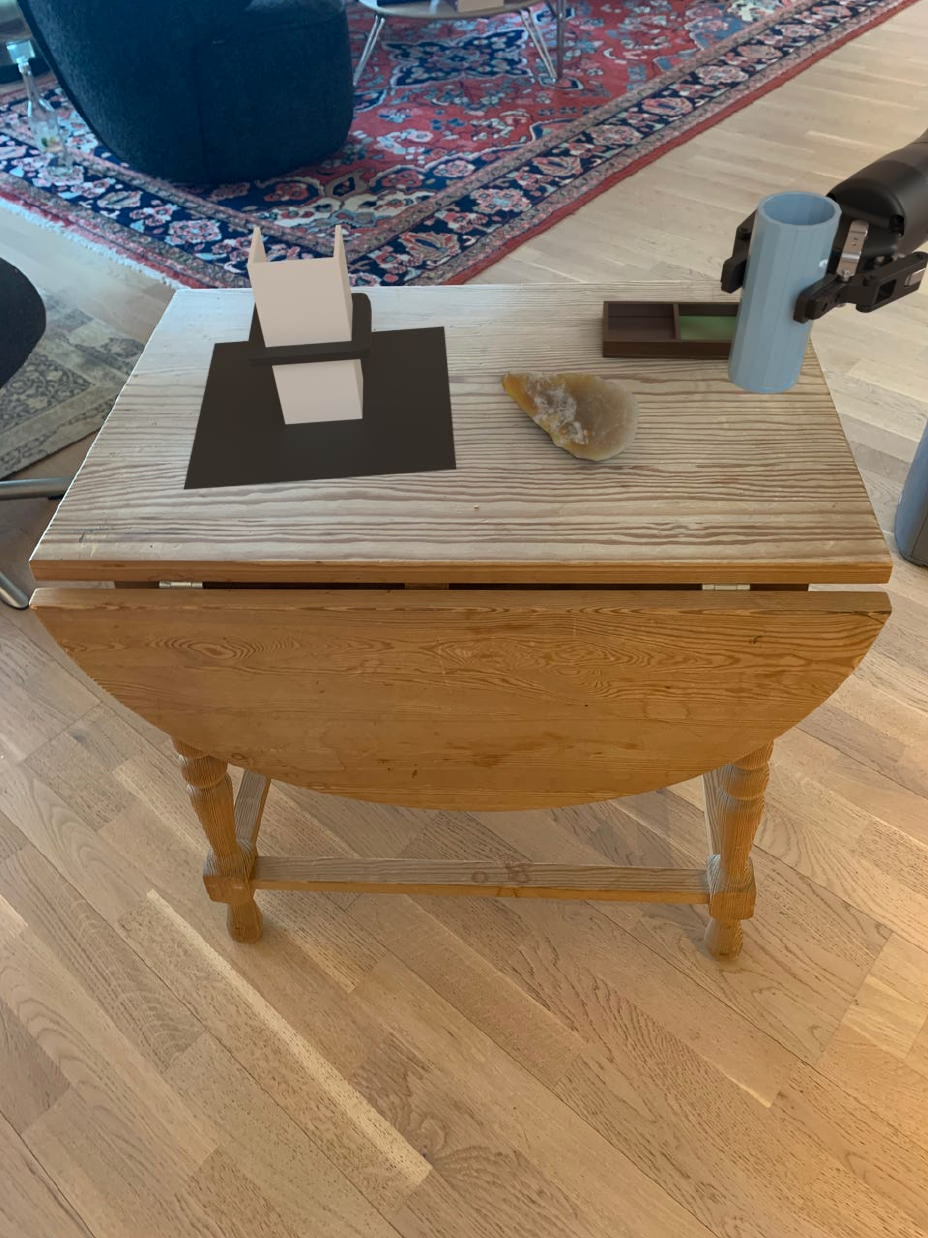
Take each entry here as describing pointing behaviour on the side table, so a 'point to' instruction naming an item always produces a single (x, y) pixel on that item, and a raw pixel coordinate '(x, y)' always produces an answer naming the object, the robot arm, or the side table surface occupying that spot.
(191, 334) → the side table surface
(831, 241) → the cup
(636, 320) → the tray
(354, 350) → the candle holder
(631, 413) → the stone
